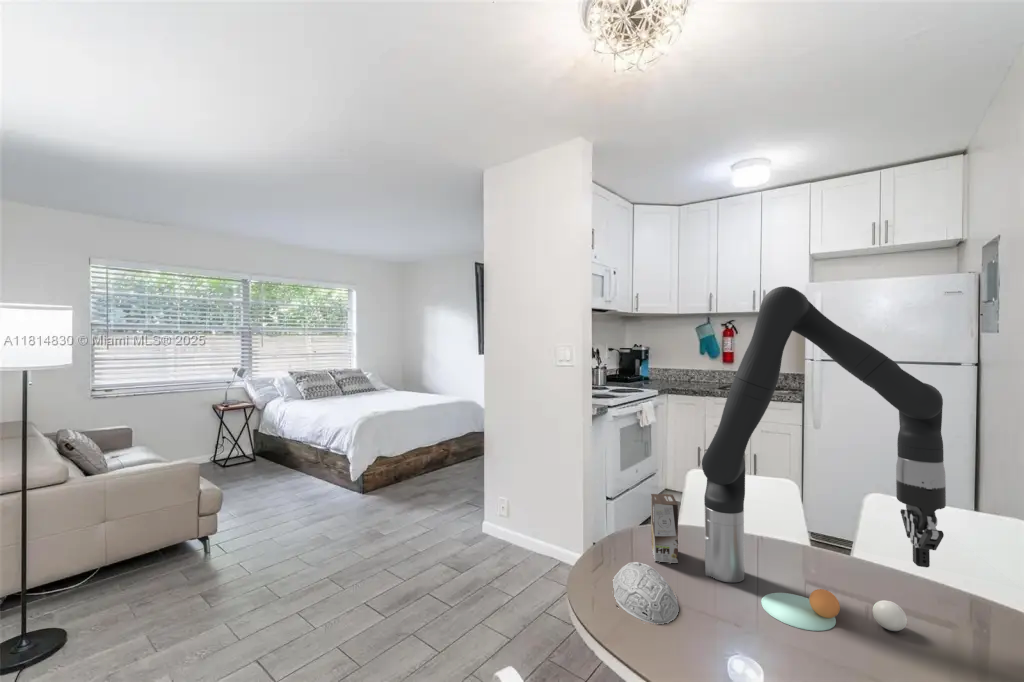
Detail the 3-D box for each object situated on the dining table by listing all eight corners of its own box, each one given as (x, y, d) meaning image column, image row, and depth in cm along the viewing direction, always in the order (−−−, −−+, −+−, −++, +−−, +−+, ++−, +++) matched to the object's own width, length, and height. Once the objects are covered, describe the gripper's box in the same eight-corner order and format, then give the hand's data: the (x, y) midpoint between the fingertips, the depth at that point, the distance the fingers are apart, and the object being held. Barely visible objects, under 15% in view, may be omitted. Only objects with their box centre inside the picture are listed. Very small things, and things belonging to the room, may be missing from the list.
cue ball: (917, 619, 91) (905, 642, 92) (903, 602, 96) (892, 624, 97) (885, 605, 92) (874, 628, 93) (874, 590, 98) (863, 612, 98)
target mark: (766, 622, 97) (766, 621, 97) (757, 588, 110) (757, 588, 110) (844, 637, 92) (844, 636, 92) (825, 600, 105) (825, 599, 105)
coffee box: (679, 564, 122) (678, 504, 122) (654, 562, 124) (653, 503, 124) (674, 549, 131) (673, 493, 131) (650, 547, 133) (650, 492, 133)
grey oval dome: (619, 625, 96) (622, 593, 96) (603, 572, 121) (605, 546, 121) (694, 635, 95) (696, 602, 95) (661, 579, 120) (664, 553, 120)
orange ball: (849, 618, 95) (822, 627, 97) (841, 604, 100) (816, 612, 102) (832, 593, 96) (806, 602, 98) (825, 580, 101) (801, 589, 103)
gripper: (884, 470, 100) (885, 548, 100) (911, 488, 88) (912, 577, 88) (927, 473, 98) (928, 554, 98) (961, 492, 85) (962, 584, 85)
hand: (921, 565), depth 93 cm, fingers closed
